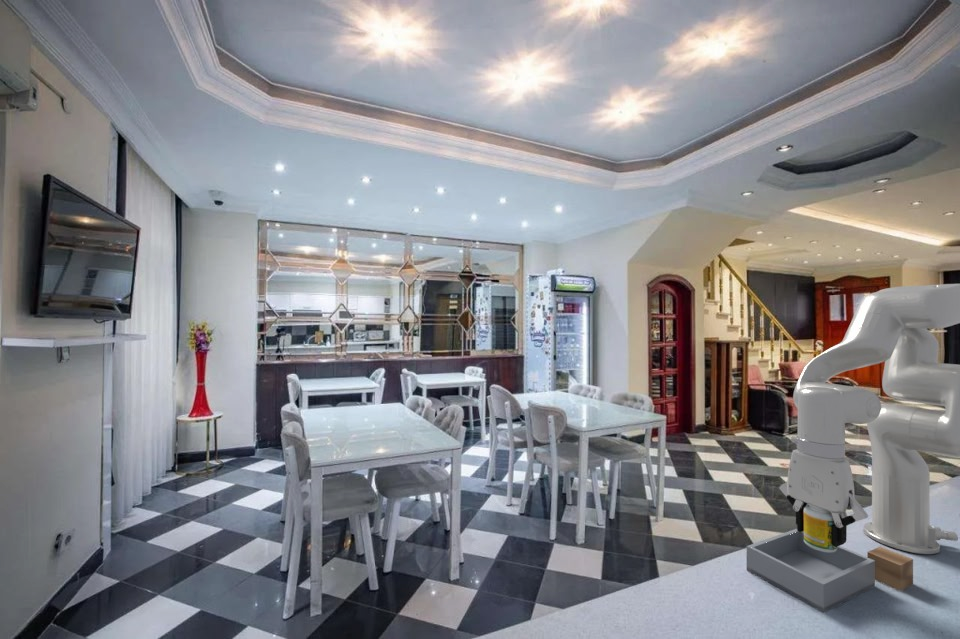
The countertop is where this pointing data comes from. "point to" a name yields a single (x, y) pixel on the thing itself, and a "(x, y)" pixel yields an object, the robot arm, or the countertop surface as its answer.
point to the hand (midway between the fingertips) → (820, 536)
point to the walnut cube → (892, 568)
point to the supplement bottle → (818, 529)
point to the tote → (811, 570)
